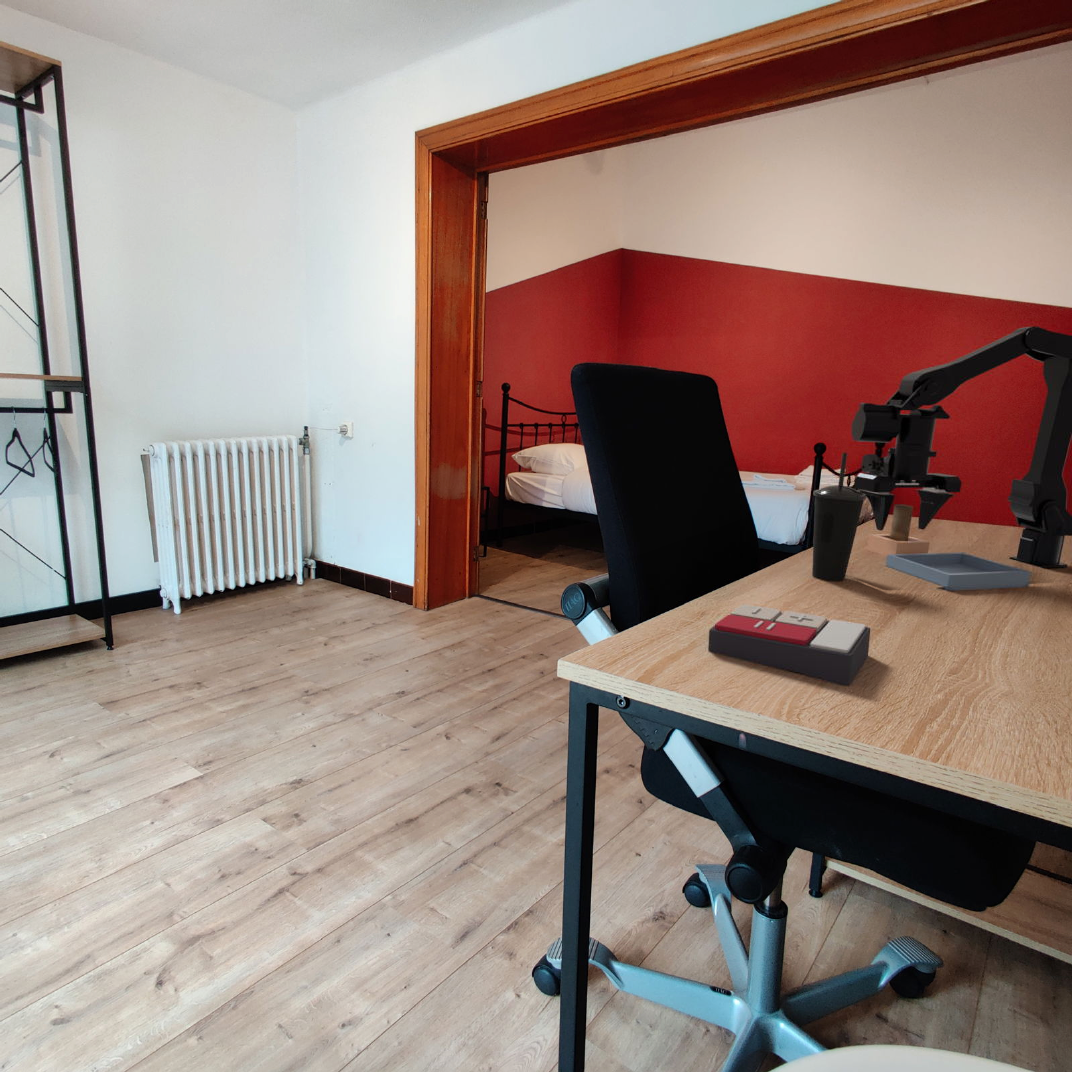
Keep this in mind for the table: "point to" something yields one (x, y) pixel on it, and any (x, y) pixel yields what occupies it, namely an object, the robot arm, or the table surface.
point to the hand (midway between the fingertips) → (900, 529)
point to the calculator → (793, 642)
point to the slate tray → (959, 571)
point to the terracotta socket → (896, 545)
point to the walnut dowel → (901, 522)
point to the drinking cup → (835, 527)
